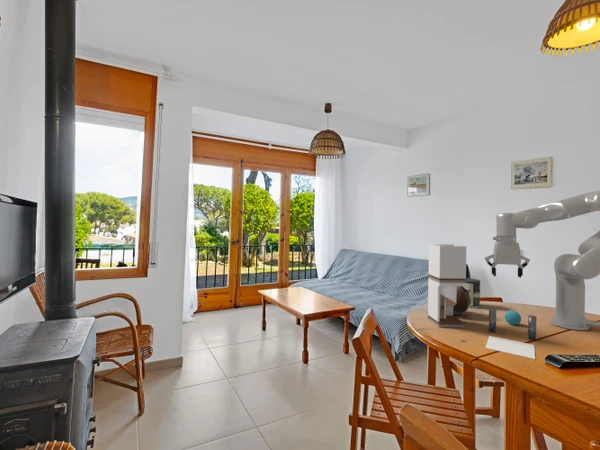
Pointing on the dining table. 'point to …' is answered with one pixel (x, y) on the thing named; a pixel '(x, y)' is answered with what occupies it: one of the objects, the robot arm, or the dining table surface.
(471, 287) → the coffee can
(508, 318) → the ball
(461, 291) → the wooden sphere
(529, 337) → the right post
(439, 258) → the white tower on base
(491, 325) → the left post
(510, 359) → the dining table surface
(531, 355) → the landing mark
